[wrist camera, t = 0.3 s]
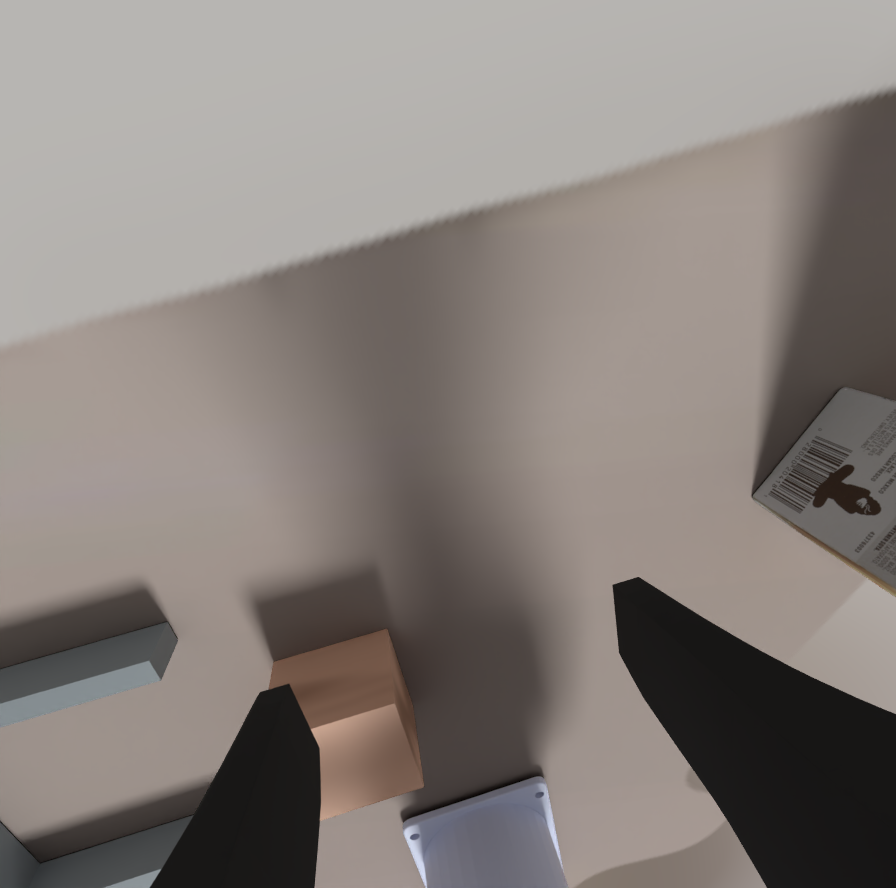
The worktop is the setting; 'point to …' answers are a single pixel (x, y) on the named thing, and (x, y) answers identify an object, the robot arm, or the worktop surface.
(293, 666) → the terracotta block
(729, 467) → the worktop surface
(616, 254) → the worktop surface
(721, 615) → the worktop surface
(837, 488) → the coffee box
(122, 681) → the slate bay
